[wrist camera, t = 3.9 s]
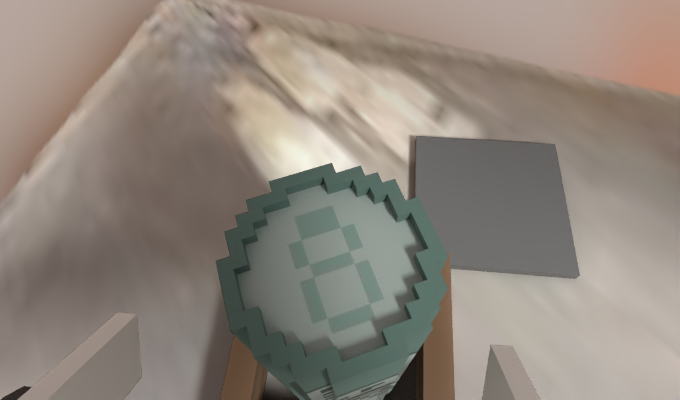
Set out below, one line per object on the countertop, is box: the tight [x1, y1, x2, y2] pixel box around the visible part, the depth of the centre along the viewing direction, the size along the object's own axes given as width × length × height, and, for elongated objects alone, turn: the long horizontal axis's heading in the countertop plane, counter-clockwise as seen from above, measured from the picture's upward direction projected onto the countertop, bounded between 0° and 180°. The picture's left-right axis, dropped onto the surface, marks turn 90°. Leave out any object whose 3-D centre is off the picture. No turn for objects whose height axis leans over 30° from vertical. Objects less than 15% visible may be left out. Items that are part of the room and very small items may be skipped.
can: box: [216, 163, 448, 400], centre depth 18 cm, size 6×6×15 cm
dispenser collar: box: [220, 253, 455, 400], centre depth 24 cm, size 11×11×3 cm
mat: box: [415, 136, 580, 279], centre depth 29 cm, size 10×10×1 cm
